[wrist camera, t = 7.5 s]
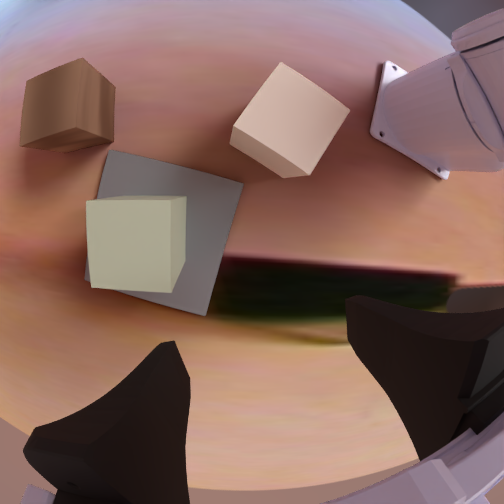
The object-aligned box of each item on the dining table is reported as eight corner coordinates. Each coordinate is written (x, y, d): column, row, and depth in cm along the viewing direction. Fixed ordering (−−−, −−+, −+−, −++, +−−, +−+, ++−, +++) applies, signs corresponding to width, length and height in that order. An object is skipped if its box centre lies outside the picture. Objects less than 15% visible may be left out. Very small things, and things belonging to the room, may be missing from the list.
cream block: (314, 129, 18) (350, 110, 13) (283, 178, 19) (309, 175, 13) (263, 95, 17) (280, 62, 12) (229, 144, 18) (233, 125, 12)
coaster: (243, 183, 19) (243, 183, 18) (205, 312, 21) (205, 316, 20) (112, 150, 17) (109, 149, 16) (87, 277, 19) (84, 279, 18)
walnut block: (115, 87, 16) (82, 57, 10) (114, 141, 17) (75, 127, 11) (67, 101, 15) (26, 80, 10) (65, 153, 16) (19, 146, 11)
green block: (186, 196, 18) (171, 200, 12) (185, 261, 19) (171, 292, 13) (124, 195, 17) (86, 200, 11) (125, 258, 18) (91, 287, 12)
